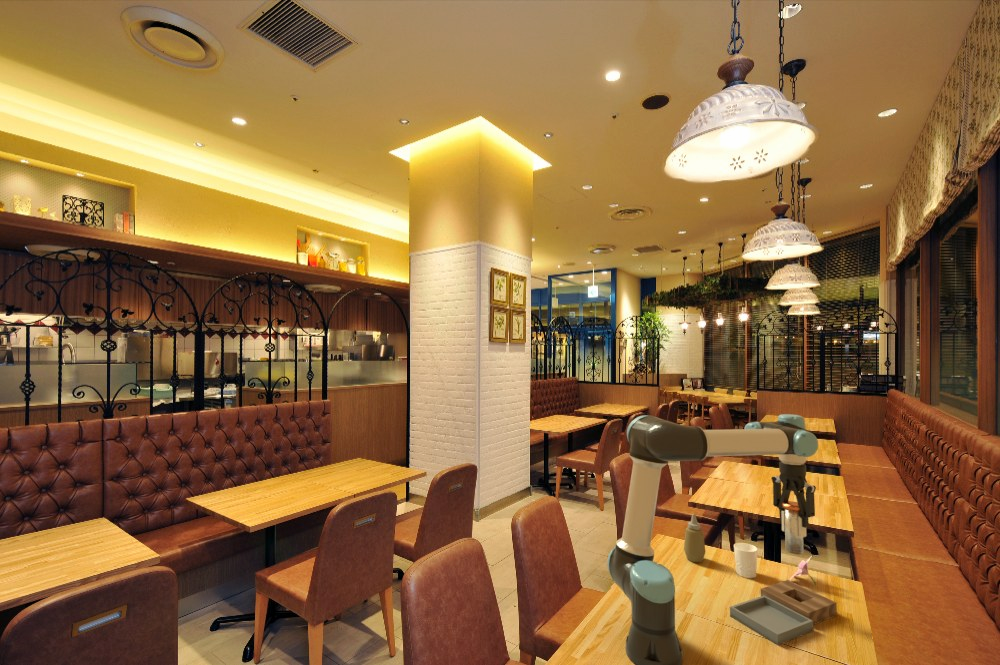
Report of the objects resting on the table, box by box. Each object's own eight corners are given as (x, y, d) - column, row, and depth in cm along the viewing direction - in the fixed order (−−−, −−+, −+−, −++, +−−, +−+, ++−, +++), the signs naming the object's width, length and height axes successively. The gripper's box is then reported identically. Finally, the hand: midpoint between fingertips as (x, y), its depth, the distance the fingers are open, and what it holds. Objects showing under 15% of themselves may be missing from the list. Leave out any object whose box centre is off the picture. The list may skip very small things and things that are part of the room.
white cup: (736, 577, 174) (735, 550, 175) (732, 567, 182) (732, 541, 182) (760, 580, 172) (759, 552, 172) (755, 570, 180) (754, 544, 180)
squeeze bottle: (687, 553, 195) (686, 509, 195) (708, 558, 190) (707, 513, 190) (681, 560, 189) (680, 515, 189) (702, 566, 184) (701, 519, 184)
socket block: (808, 626, 144) (808, 613, 144) (760, 600, 158) (760, 588, 158) (836, 615, 150) (836, 602, 150) (788, 591, 164) (787, 579, 164)
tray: (777, 645, 135) (777, 634, 135) (730, 616, 150) (729, 606, 150) (813, 630, 142) (813, 620, 142) (764, 604, 156) (764, 595, 156)
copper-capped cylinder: (797, 556, 150) (796, 508, 150) (778, 548, 156) (777, 502, 156) (810, 553, 152) (809, 505, 153) (791, 545, 158) (790, 500, 159)
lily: (806, 576, 177) (791, 551, 180) (835, 576, 167) (819, 550, 170) (789, 593, 172) (773, 568, 174) (818, 595, 162) (801, 568, 164)
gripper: (828, 467, 148) (829, 541, 148) (774, 455, 165) (775, 522, 164) (813, 469, 145) (814, 546, 144) (759, 457, 162) (760, 525, 161)
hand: (793, 533), depth 154 cm, fingers closed on copper-capped cylinder, 5 cm apart
